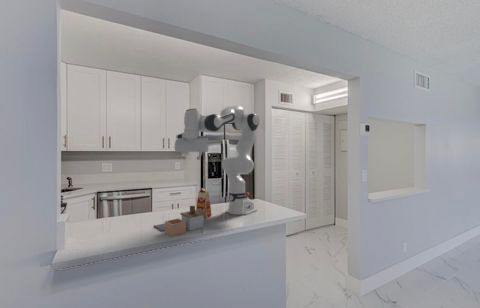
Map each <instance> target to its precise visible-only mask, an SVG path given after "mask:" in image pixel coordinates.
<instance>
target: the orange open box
mask: <svg viewBox="0 0 480 308" xmlns="http://www.w3.org/2000/svg"><path fill="white" fill-rule="evenodd" d="M164 223H165V231H164V234H167V235H169V236H170V237H174V236H175V237H176V236H178V235H182V234H185V233H187V229H186V222H185V221H183V220H182V218H175V219H170V220H165V221H164Z"/></svg>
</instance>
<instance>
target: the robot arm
mask: <svg viewBox="0 0 480 308" xmlns="http://www.w3.org/2000/svg"><path fill="white" fill-rule="evenodd" d="M183 121H184V122H183V123H184V129H183V132H182V133H179V134H176V135H175V139H176V140H175V142H174V151H175V152H178V153H179V152H180V153H179V154H180V155H181V159H182V160H187V159H186V158H187V157H186V156H185V152H193V153H194V152H195V153H198V156H197V157H196V160H197V161H200V160H201V157H202V156H203V153H207V152H208V151H209V138H208V137H207V136H206V135H200V132H202V133H204V132H205V133H206V132H218V131H219V130H221V128H222V127H223V126H224V125H227V124H231V127H232V128H233V129H234V130H236V131H241V132H242V133H241V135H240V137H239V139H238V141H237V145H236V147H235V151H236V152H237V153H238V156H231V157H230V156H229V157H225V158H223V159H222V162H221V168H222V169H223V170H224V172H225V174H226V175H227V178H228V183H229V193H228V199H229V200H228V208H227V213H228V214H231V215H235V216H236V215H238V216H239V215H241V216H242V215H245V216H246V215H249V214H253V213H254V212H257V211H258V209H257V208H256V207H255V204H254V201H252V200H251V199H250V198H249V197H248V196H250V192H246V181H245V180H244V179H243V177H242V176H241V174H248V173H252V172H253V170H254V167H255V163H254V161H253V159H252V157H251V154H252V153H251V152H252V149H253V146H254V143H255V140H256V130H257V129H258V126H259V124H260V118H259V116H258V115H257V114H256V113H253V112H252V113H245V110H244V108H243V107H242V106H240V105H232V106H228V107H226V108H224V109H222V110H221V111H220V114H216V113H212V114H209V115H204V114H203V113H202V112H200V110H199V109H198V108H188V109H186V110H185V112H184V117H183Z"/></svg>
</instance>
